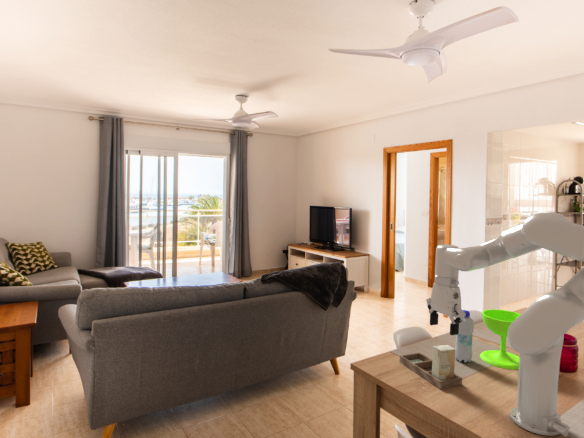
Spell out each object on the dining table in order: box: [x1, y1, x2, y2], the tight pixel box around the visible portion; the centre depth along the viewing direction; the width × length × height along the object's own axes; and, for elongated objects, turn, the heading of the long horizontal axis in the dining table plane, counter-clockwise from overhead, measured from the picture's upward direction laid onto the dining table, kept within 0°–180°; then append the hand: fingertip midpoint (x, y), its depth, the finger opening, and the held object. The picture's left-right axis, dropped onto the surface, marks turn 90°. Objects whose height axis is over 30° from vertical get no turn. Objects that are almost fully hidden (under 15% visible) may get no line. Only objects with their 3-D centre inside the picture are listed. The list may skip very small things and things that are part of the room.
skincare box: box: [431, 344, 456, 381], centre depth 131 cm, size 6×4×12 cm
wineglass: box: [479, 308, 522, 371], centre depth 149 cm, size 16×16×18 cm
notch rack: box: [399, 351, 463, 390], centre depth 138 cm, size 22×9×2 cm, turn 20°
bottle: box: [454, 309, 475, 364], centre depth 148 cm, size 7×7×20 cm
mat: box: [409, 359, 422, 363], centre depth 145 cm, size 6×7×1 cm
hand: (443, 329), depth 131 cm, fingers open, 9 cm apart
